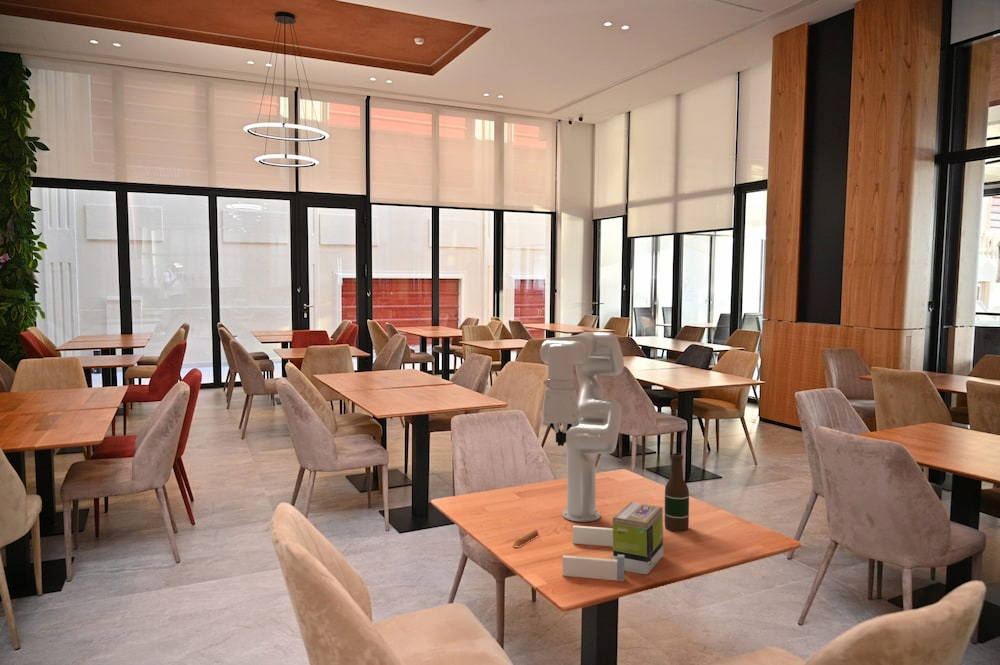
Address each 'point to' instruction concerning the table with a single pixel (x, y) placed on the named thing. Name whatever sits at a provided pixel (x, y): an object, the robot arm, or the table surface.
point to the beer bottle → (676, 498)
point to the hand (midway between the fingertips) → (561, 444)
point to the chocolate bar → (526, 538)
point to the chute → (593, 566)
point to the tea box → (638, 537)
